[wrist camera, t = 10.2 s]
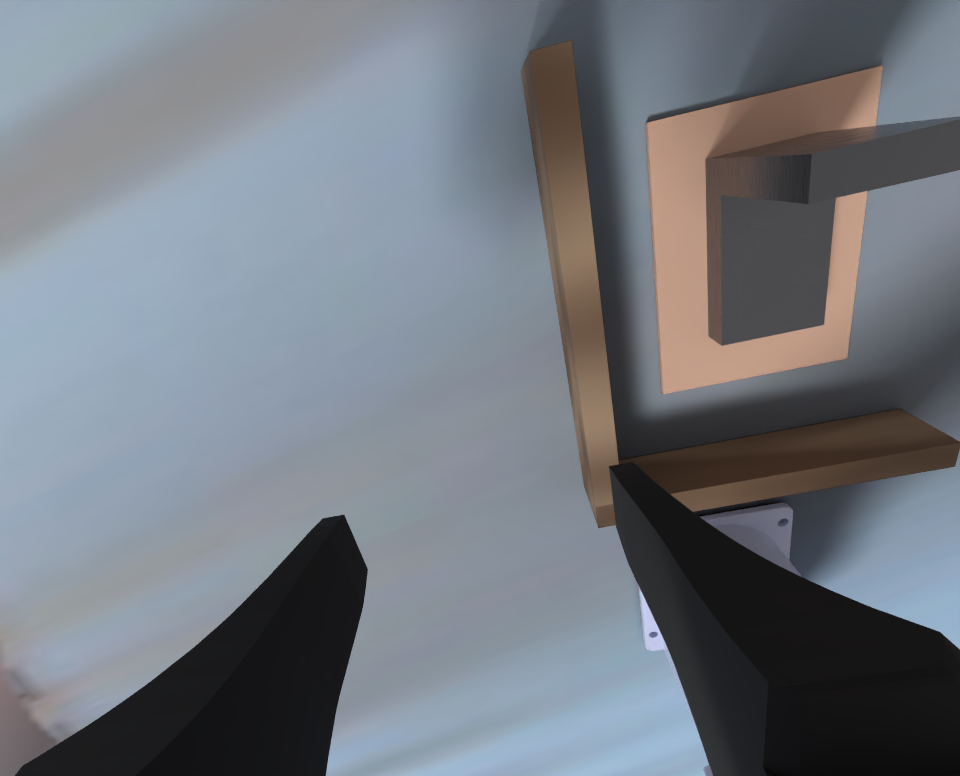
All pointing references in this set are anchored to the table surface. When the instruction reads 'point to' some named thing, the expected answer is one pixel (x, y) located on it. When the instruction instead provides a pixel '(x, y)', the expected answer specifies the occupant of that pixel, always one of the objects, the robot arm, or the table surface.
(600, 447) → the corner walls
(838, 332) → the mat
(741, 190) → the angle bracket
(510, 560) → the table surface
